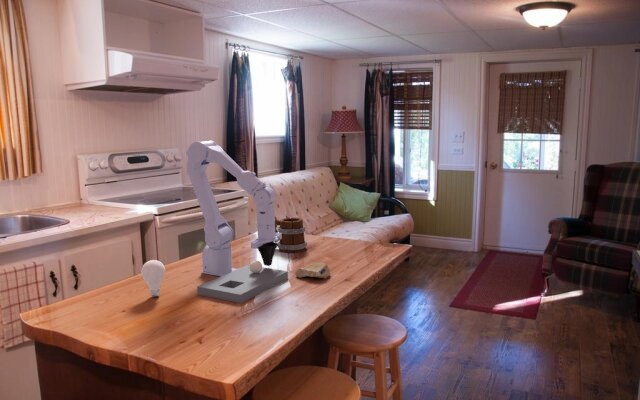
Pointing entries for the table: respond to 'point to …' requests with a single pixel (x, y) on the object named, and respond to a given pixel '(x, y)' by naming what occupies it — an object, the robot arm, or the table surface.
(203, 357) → the table surface
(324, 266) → the stone
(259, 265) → the ball
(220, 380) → the table surface
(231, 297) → the plate
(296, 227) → the mug
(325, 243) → the table surface
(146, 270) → the light bulb
